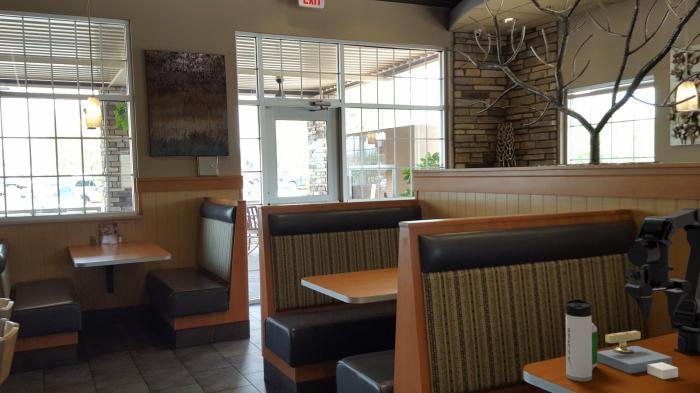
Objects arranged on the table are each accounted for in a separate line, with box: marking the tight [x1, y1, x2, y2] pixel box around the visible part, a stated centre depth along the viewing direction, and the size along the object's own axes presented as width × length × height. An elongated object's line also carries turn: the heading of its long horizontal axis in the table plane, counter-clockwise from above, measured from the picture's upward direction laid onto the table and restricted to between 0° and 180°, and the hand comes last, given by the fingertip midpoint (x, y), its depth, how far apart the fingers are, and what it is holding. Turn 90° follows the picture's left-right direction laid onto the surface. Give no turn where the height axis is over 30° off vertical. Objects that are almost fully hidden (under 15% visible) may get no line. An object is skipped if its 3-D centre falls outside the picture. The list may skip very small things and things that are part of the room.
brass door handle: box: [604, 329, 642, 353], centre depth 166 cm, size 4×11×5 cm, turn 110°
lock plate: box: [597, 345, 673, 374], centre depth 162 cm, size 15×12×3 cm
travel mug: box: [565, 298, 593, 383], centre depth 152 cm, size 6×7×20 cm
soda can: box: [592, 322, 598, 370], centre depth 160 cm, size 8×8×12 cm
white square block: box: [646, 362, 679, 380], centre depth 153 cm, size 5×5×3 cm
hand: (658, 318), depth 162 cm, fingers open, 9 cm apart
